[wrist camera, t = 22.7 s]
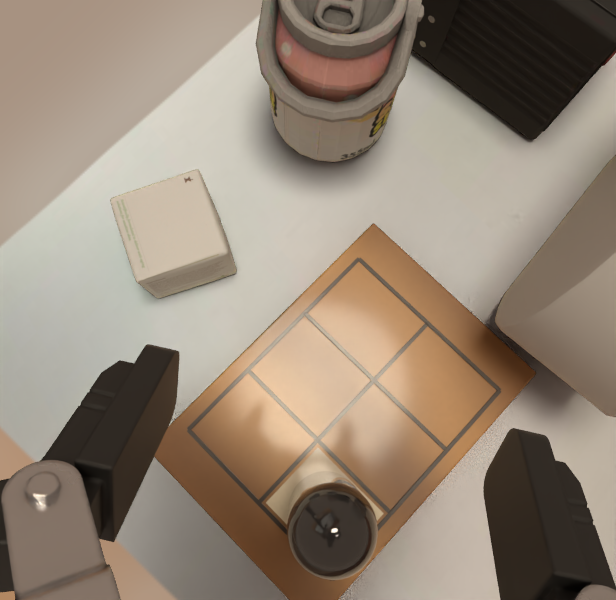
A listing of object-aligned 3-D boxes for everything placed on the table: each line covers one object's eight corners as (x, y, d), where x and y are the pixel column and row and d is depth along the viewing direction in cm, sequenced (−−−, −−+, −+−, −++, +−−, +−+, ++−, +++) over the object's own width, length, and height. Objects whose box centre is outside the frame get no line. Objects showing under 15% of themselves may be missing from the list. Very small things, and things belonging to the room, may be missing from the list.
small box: (130, 224, 37) (106, 195, 32) (212, 197, 38) (200, 165, 33) (155, 302, 36) (134, 285, 31) (239, 273, 37) (231, 252, 32)
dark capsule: (289, 552, 32) (288, 595, 24) (286, 472, 33) (284, 490, 25) (365, 547, 32) (388, 589, 24) (360, 469, 33) (380, 485, 25)
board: (313, 619, 33) (314, 627, 31) (151, 447, 34) (145, 448, 33) (529, 374, 36) (538, 372, 35) (371, 228, 38) (373, 222, 36)
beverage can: (372, 194, 38) (407, 96, 26) (252, 167, 38) (235, 57, 27) (398, 77, 40) (442, -64, 28) (284, 51, 40) (281, -99, 28)
